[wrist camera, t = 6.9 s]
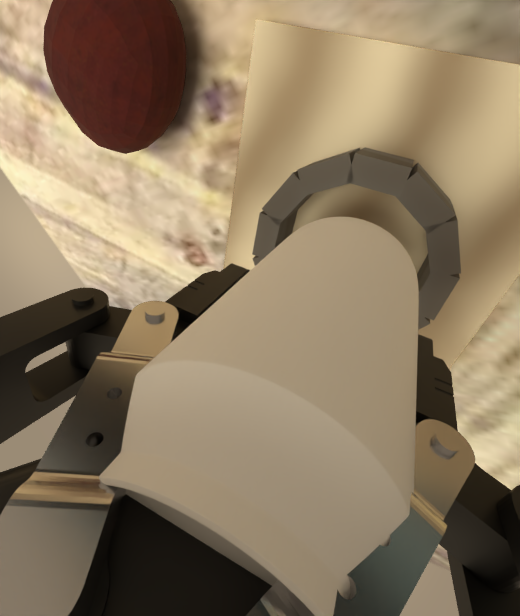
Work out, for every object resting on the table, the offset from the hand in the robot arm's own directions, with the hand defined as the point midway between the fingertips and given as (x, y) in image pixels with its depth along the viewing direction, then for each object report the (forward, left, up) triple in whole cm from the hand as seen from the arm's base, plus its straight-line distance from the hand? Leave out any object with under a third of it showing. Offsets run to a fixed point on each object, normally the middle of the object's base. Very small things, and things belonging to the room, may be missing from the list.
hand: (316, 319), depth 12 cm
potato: (+15, -6, -10) cm, 19 cm away
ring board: (0, 0, -10) cm, 10 cm away
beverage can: (0, 0, -4) cm, 4 cm away
